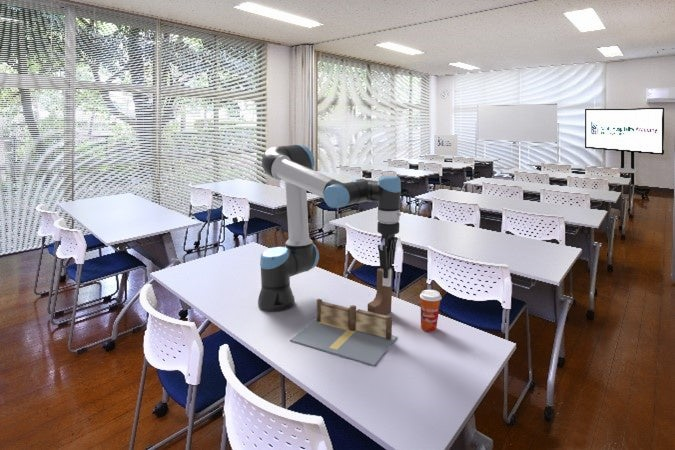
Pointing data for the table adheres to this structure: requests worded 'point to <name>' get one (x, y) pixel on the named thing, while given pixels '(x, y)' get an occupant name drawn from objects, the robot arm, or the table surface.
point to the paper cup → (429, 309)
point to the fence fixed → (336, 315)
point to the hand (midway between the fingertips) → (386, 285)
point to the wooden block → (381, 296)
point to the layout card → (344, 342)
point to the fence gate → (374, 323)
